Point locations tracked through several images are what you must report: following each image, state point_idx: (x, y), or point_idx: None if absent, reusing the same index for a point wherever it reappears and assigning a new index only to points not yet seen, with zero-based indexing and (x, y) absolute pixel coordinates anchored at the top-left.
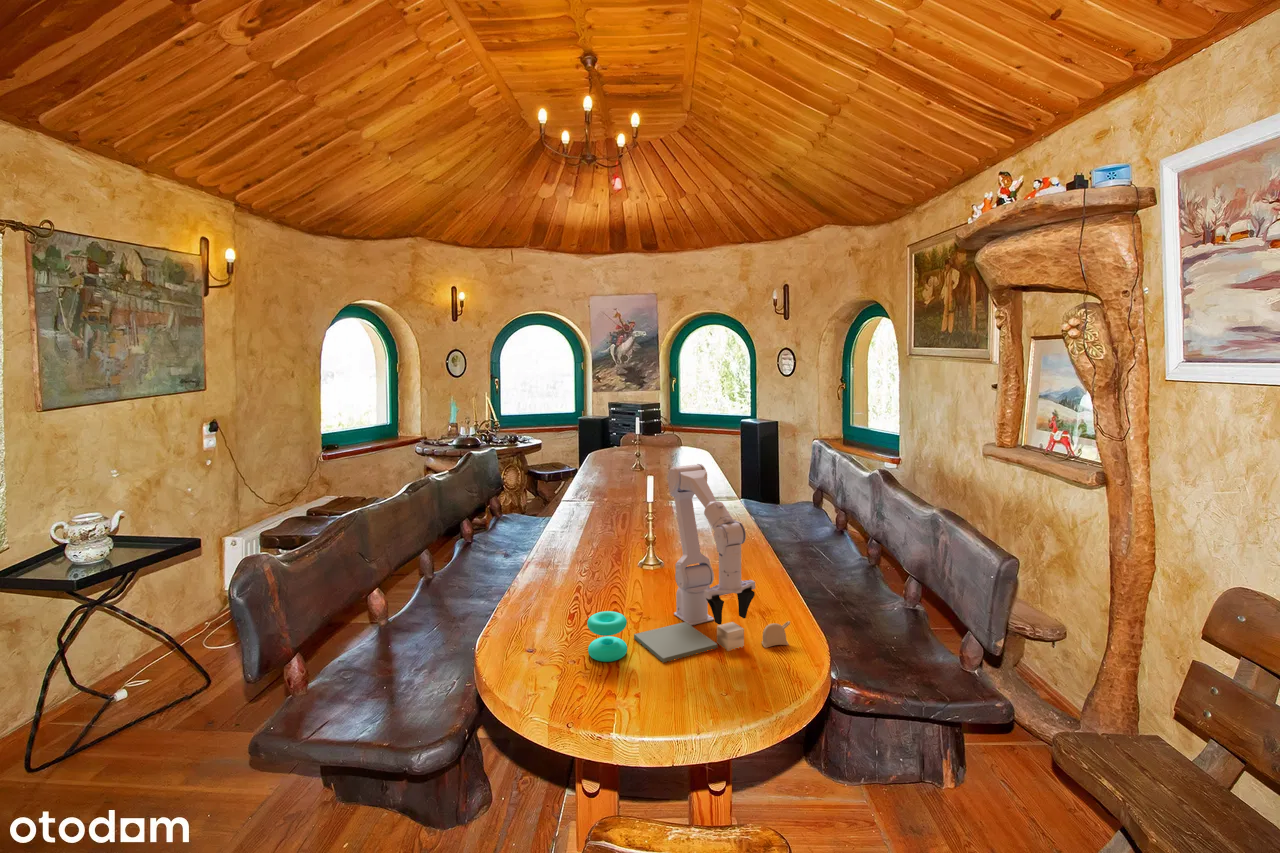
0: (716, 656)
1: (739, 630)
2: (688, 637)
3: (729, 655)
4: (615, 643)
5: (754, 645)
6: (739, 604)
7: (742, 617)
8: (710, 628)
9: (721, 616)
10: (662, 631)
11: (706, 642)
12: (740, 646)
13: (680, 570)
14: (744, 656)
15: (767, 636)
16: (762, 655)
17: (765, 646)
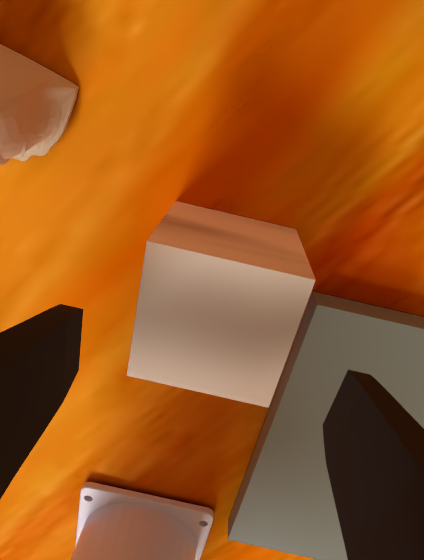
0: (405, 228)
1: (193, 250)
2: None
3: (339, 181)
4: None
5: (109, 166)
6: (12, 464)
7: (80, 328)
8: (157, 445)
9: (393, 424)
10: None
11: (345, 357)
12: (201, 208)
13: None
14: (281, 98)
15: (6, 88)
16: (173, 11)
17: (68, 86)
